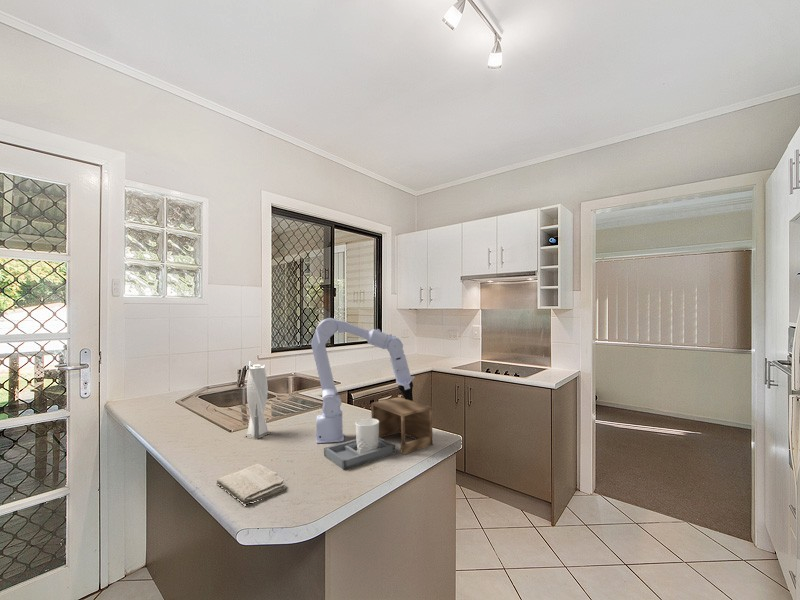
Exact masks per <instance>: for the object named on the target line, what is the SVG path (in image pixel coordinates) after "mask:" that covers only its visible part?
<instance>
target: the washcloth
mask: <svg viewBox="0 0 800 600" xmlns="http://www.w3.org/2000/svg"><path fill="white" fill-rule="evenodd" d="M284 481H285V480H284V479H283V478H282V477H280V475H279V474H278V472H276V471H274V470H273V471H272V469H269V467H268V468H267V467H266V466H263V465H262V464H260V463H256V464H253V465H251V466H247V467H245V468H244V469H241V470H239V471H237V472H236V471H235V472H232V473H229V474H226V475H224V476H222V477H219V478H217V480H216V485H217V484H219V485H220V486H221V487H223V488H224V489H225V490H226V491H227V492H229V493H230V494H231V495H233V496H234V497H236V498H237V499H239V500H240V501H241V502H243V504H248V505H250V504H249V503H250V502H254V501H257V500H261V499H263V500H265V499H267V498H269V496H270V497H272V496H274V495H277V494H279V493H281V492H283V491H284V490H286V489H287V487H286V486H285V484H284ZM221 487H220V488H221ZM225 490H224V491H225ZM226 491H225V492H226ZM227 492H226V493H227ZM230 494H229V495H230ZM231 495H230V496H231ZM233 496H232V497H233ZM234 497H233V498H234ZM266 497H267V498H266ZM264 498H265V499H264ZM237 499H236V500H237ZM261 501H262V500H261Z"/></svg>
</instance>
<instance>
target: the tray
mask: <svg viewBox="0 0 800 600" xmlns="http://www.w3.org/2000/svg"><path fill="white" fill-rule="evenodd" d="M356 449H357V441H356V438H355V439H352V440H347V441H343V442H341V443H337V444H334V445H329V446H326V447H323V456H324V458H326V459H328V460H329V461H330V462H331V463H333V464H334V465H336V466H338V467H339V468H340V469H342V470H343V471H346V470H349V469H352V468H355V467H358V466H360V465H363V464H367V463H370V462H373V461H375V460H378V459H382V458H384V457H388V456H391V455H394V454H396V444H394V443H392V442H390V441H388V440H386V439H384V438H383V437H381V438H380V437H379V442H378V449H376V450H373V451H370V452H366V453H363V454H361V453H359V452H357V450H356Z"/></svg>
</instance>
